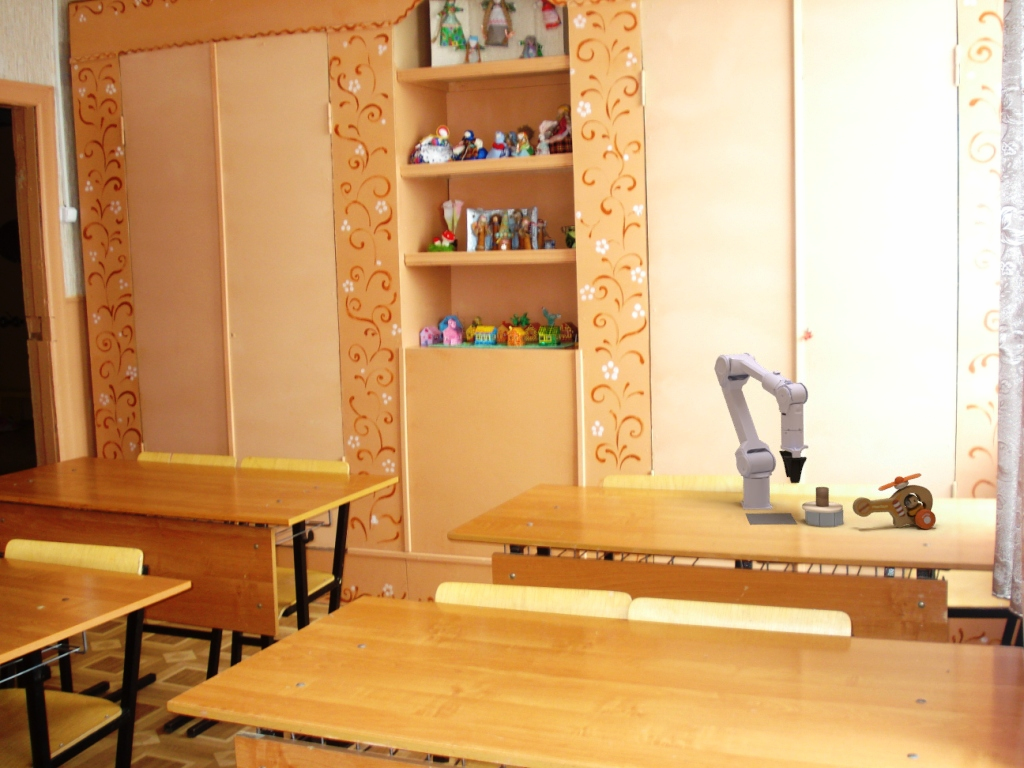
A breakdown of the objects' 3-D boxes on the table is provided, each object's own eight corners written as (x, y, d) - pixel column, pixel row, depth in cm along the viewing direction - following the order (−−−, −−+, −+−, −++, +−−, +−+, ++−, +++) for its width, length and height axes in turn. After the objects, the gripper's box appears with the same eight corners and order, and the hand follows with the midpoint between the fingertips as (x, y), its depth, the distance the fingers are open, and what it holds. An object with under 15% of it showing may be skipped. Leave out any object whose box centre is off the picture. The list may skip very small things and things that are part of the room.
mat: (745, 514, 269) (745, 513, 269) (790, 514, 268) (790, 513, 268) (750, 525, 258) (750, 524, 257) (797, 525, 256) (797, 524, 256)
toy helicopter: (940, 528, 248) (940, 474, 246) (861, 534, 245) (861, 479, 244) (922, 521, 256) (923, 468, 255) (846, 526, 253) (846, 473, 252)
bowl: (803, 519, 262) (803, 504, 262) (838, 519, 261) (838, 504, 260) (809, 528, 253) (808, 512, 253) (845, 527, 252) (845, 512, 251)
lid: (799, 504, 262) (799, 484, 262) (839, 504, 261) (839, 483, 260) (805, 513, 252) (804, 492, 252) (845, 513, 251) (845, 492, 250)
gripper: (812, 433, 254) (813, 485, 255) (803, 424, 268) (804, 474, 269) (784, 433, 255) (784, 485, 256) (776, 425, 269) (777, 474, 270)
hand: (792, 479), depth 263 cm, fingers open, 7 cm apart
